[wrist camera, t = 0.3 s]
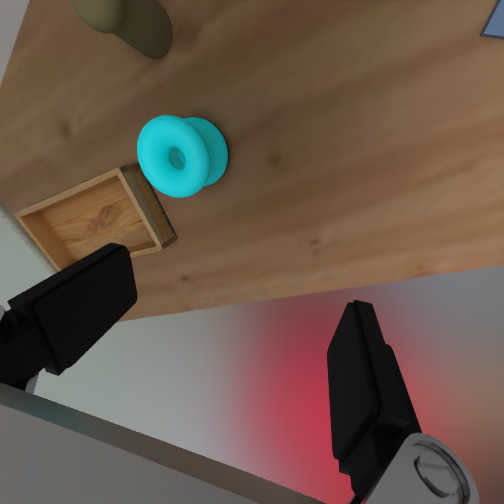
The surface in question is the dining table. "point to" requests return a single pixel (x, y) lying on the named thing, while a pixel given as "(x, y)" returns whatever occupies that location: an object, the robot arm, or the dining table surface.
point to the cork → (130, 23)
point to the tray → (99, 218)
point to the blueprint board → (495, 22)
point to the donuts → (181, 154)
